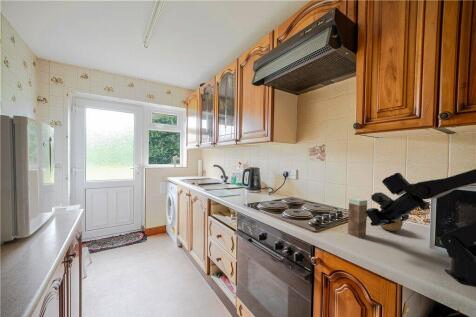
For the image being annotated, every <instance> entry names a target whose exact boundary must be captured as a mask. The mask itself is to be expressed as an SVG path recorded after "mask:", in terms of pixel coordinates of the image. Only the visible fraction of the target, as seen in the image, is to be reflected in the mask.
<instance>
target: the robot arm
mask: <svg viewBox="0 0 476 317" xmlns="http://www.w3.org/2000/svg"><path fill="white" fill-rule="evenodd" d="M381 183H382V185H384V186H385V188H386V189H387V190H388V191H389V192H390V194H392V195H396V196H398V197H397V198H396V199H392V198H391V197H390V196H388V195H387V194H385V193H384V192H375V193H373V194H371V195H370V197H371V200H372V201H373V202H374V203H376V204H377V205H379V208H376V207H372V208H370V207H369V208H367V210H366V211H365V213H366V214H367V217H368V218H369V220H370V221H371V222H370V226H372V227H373V226H374V227H378V226H380V225H387V224H393V223H395V221H394V220H400V219H401V220H400V221H401V222H403V223H404V222H406V221H408V220H409V219H410V217H409V216H410V214H411V212H412V211H414V210H417V209H418V208H419V209H421V210H422V211H428V210H430V209H431V208H430V203H431V202H430V201H426V200H431V199H438V198H440V197H441V198H442V197H443V196H445V195H448V194H450V193H452V192H453V191H455V190H456V191H457V190H458V189H461V188H465V187H469V186H473V185H476V168H473V169H471V170H468V171H464V172H461V173H459V174H458V173H457V174H454V175H452V176H449V177H445V178H444V177H443V178H439V179H438V178H437V179H431V180H424V181H419V182H416V183H410V182H409V181H407V179H406V178H405V177H404V176H403V174H402V173H401V172H396V173H394V174H392V175H389V176H387V177H385V178H384V179H382V181H381ZM379 209H380V210H379ZM380 227H381V226H380ZM441 232H442V234H440V236H439V238H440V243H441V245H443V248H445V249H446V253H447V255H448V258H450V259H451V261H450V262H451V263H450V264H451V265H450V269H446V268H444V272H446V274H448V275H449V276H451V277H452V278H453V279H454V280H455V281H457V282H458V283H460V284H464V285H470V286H476V220H475V221H472V222H471V223H469V224H466V223H465V221H461V222H457V223H456V222H455V223H453V224H452V225H451V226H449V227H448V228H447V229H443V230H441Z"/></svg>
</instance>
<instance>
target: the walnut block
mask: <svg viewBox="0 0 476 317" xmlns="http://www.w3.org/2000/svg"><path fill="white" fill-rule="evenodd" d="M366 210H368V200H367V199H363V198H358V197H352V198H351V197H350V198H348V216H347V234H348V235H350V236H353V237H355V238H357V239H359V238H364V237H366V236H367V233H366V232H367V217H368V215H367V214H366V213H365V211H366Z"/></svg>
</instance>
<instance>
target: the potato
mask: <svg viewBox="0 0 476 317" xmlns="http://www.w3.org/2000/svg"><path fill="white" fill-rule="evenodd" d="M401 219H402V218H401ZM401 219H400V220H401ZM400 220H394V221H395V223H393V224H387V225H380V227H381V228H383V229H384V230H387V231H391V232H394V231H395V232H396V231H398V230H400V229H401V228H402V227H403V223H404V221H403V222H401V221H400Z"/></svg>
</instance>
